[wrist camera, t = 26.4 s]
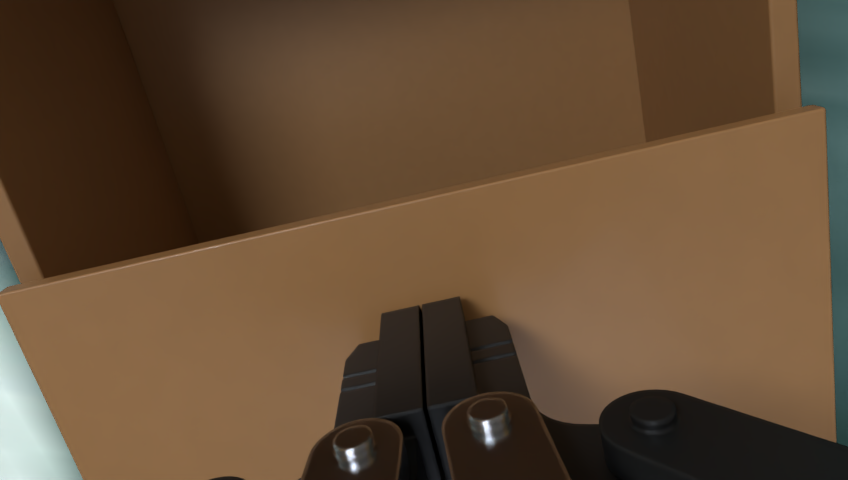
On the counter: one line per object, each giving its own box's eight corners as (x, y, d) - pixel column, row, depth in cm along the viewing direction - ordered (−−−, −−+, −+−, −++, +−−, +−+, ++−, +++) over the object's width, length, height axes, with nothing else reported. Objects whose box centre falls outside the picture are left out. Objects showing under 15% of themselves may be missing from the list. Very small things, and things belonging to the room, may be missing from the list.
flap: (813, 103, 12) (827, 107, 12) (828, 488, 15) (839, 501, 14) (6, 286, 13) (-6, 295, 12) (161, 619, 15) (156, 635, 15)
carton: (608, -274, 18) (774, -504, 10) (677, 313, 23) (820, 478, 15) (55, -131, 18) (-217, -234, 10) (247, 404, 24) (167, 607, 16)
